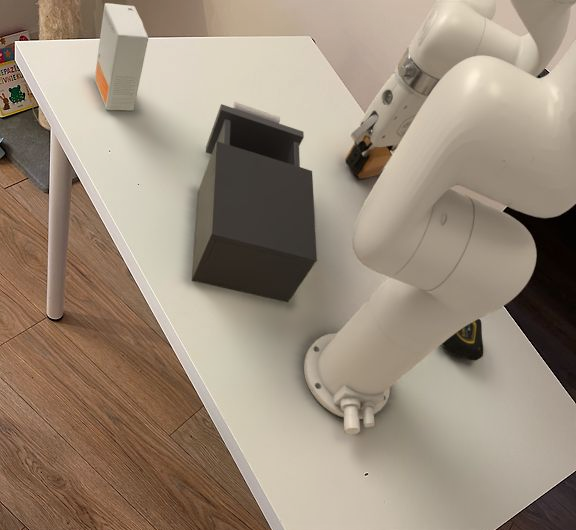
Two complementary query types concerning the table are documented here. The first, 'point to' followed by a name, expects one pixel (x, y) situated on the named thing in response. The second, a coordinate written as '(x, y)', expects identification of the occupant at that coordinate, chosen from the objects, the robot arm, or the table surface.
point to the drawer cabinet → (254, 224)
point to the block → (374, 161)
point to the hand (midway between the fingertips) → (363, 165)
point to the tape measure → (466, 342)
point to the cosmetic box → (120, 56)
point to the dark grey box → (255, 133)
